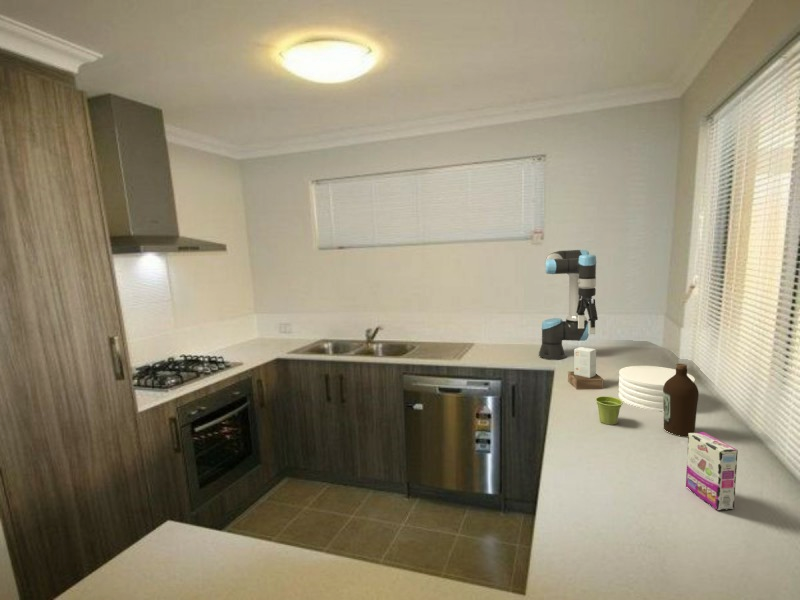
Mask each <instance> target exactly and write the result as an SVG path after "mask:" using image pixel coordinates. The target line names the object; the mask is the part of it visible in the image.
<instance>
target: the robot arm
mask: <svg viewBox="0 0 800 600" xmlns="http://www.w3.org/2000/svg"><path fill="white" fill-rule="evenodd" d="M544 261H545V262H544V263H545V273H546V274H547V275H565V274H567V275H568V276H569V277H568V280H569V281H568V289H569V290H568V316H566V318H565V320H563V319H562V318H556V317H555V318H547V319H544V320H543V321H542V323H541V345H540V348H539V351H538V357H539V356H540V357H539V358H541V357H543V358H542V359H544V358H546V359H545V360H551V359H558V360H563V359H565V358H566V352H565V349H564V346H563V341H572V342H573V341H574V342H575V341H577V342H581V341H582V342H583V341H586V340H588V338H589V335H596V321H597V320H598V312H597V307H596V299H595V298H593V297H594V296H596V291H597V290H596V286H597V277H596V275H597V274H596V272H597V271H596V270H597V256H596V255H595V254H590V252H589V251H588V250H586V249H569V250H557V251H554V252H551V253H549V254H548V255H547V256H546V258H545V260H544ZM585 311H586V312H587V315H588V318H587V317H586V316H585Z"/></svg>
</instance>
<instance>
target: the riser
mask: <svg viewBox="0 0 800 600" xmlns="http://www.w3.org/2000/svg"><path fill="white" fill-rule="evenodd" d="M603 381H604V378H603V377H602V376H600V375H599V374H598V373H596V375H595V376H593V377H591V378H588V377H583V376H578V375H574V371H567V382H568V383H569V384H570V385H571V386H572V387H573V388H575V390H603V389H604V388H603V384H604V383H603Z"/></svg>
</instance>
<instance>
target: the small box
mask: <svg viewBox="0 0 800 600" xmlns="http://www.w3.org/2000/svg"><path fill="white" fill-rule="evenodd" d="M573 372H574V375H578V376H583V377H588V378H591V377H593V376H595V375H596V374H597V349H595V348H590V347H582V346H579V347H576V348H574V350H573Z"/></svg>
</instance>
